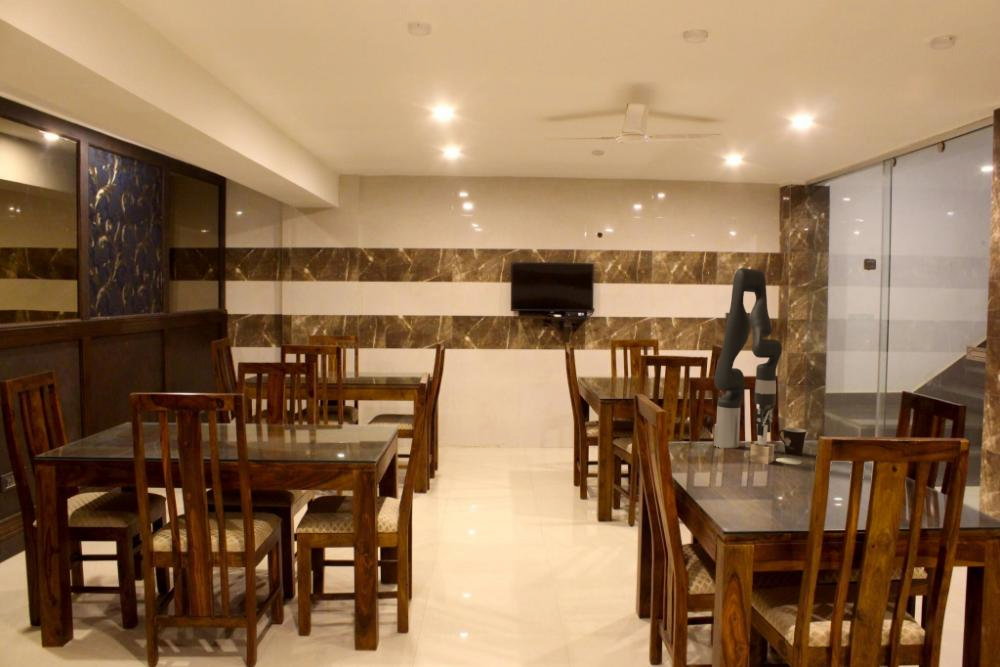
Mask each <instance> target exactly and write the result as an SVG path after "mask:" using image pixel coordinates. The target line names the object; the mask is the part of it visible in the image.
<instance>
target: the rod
mask: <svg viewBox="0 0 1000 667" xmlns="http://www.w3.org/2000/svg"><path fill="white" fill-rule="evenodd" d="M767 427H768V425H766V424H764V434H763V436H759V435H758V440H757V441H758V442H757V443H758V446H763V447H767V444H768V443H767V442H768V432H767Z"/></svg>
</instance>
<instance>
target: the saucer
mask: <svg viewBox="0 0 1000 667" xmlns="http://www.w3.org/2000/svg"><path fill="white" fill-rule="evenodd" d="M775 461H776V462H778V463H781V464H787V465H800V464H802V460H799V459H795V458H789V457H779V458H776V459H775Z"/></svg>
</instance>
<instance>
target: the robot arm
mask: <svg viewBox="0 0 1000 667" xmlns="http://www.w3.org/2000/svg"><path fill="white" fill-rule="evenodd" d="M731 291H732V292H731V300H730V306H729V313H728V317H727V323H726V327H725V332H724V337H723V342H722V348H721V352H720V355H719V356H720V357H719V360H718V363H717V364H716V365H717V366H716V369H715V371H714V372H715V373H714V379H713V380H714V381H713V382H714V386H715V388H716V389H717V390H718V391H722V392H724V391H725V394H723V395H722V396H721V397H718V399H717V404H716V406H717V408H716V422H715V424H714V431H713V432H714V433H713V434H714V435H713V447H714V446H716V448H718V447H719V448H718V449H722V448H725V449H736V448H739V445H740V421H741V403H742V401H743V400H744V399H743V398H744V390H745V377H744V373H743V370H741V369H739V368H736V367H733V366H734V363H735V360H736V358H737V356H738V355H739V354H740V353H741V351H742V350H743V349H744V347H745V345H746V344H747V341H748V339H749V335H750V331H751V329H752V347H751V352H752V354H753V355H754V356H755V357H756V358H758V359H766V358H767V361H766V362H765V363H759V364H758V365H757V366H756V371H755V372H756V373H755V383H754V384H755V385H754V404H756V405H758V406H759V407H758V408H757V407H756V408H755V417H754V424H755V425H756V426H757V427H756V435H757V436H758V437H759V436H763V434H764V424H766V425H768V427H767V434H768V433H771V430H772V429H771V428H772V423H773V421H774V406H775V405H776V402H777V401H776V398H777V394H776V393H777V382H776V380H777V377H776V376H777V368H778V364H779V360H780V358H781V356H782V351H783V346H782V343H781V342H780V340H778V339H768V338H767V337H769V336H771V335H772V333H773V327H772V324H771V319H770V316H769V315H770V314H769V310H768V297H767V283H766V276H765V273H764V272H763V271H762V270H760V269H754V268H743V267H742V268H740V267H739V268H738V269H737V270H736V271H735V274H734V276H733V282H732V290H731ZM745 293H754V295H755V303H754V304H753V307H752V309H751V311H750V314H749V315H748V313H747V310H746V308H745V305H744V295H745ZM764 338H765V339H764ZM766 338H767V339H766Z"/></svg>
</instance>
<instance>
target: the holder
mask: <svg viewBox="0 0 1000 667" xmlns="http://www.w3.org/2000/svg"><path fill="white" fill-rule="evenodd" d="M774 452H775V444H769V443H767V447H763V446H758V442H755V443H752V444H750V453H749V454H750V455H749V461H750V462H753V463H759V464H764V465H770V463H773V462H774Z"/></svg>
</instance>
